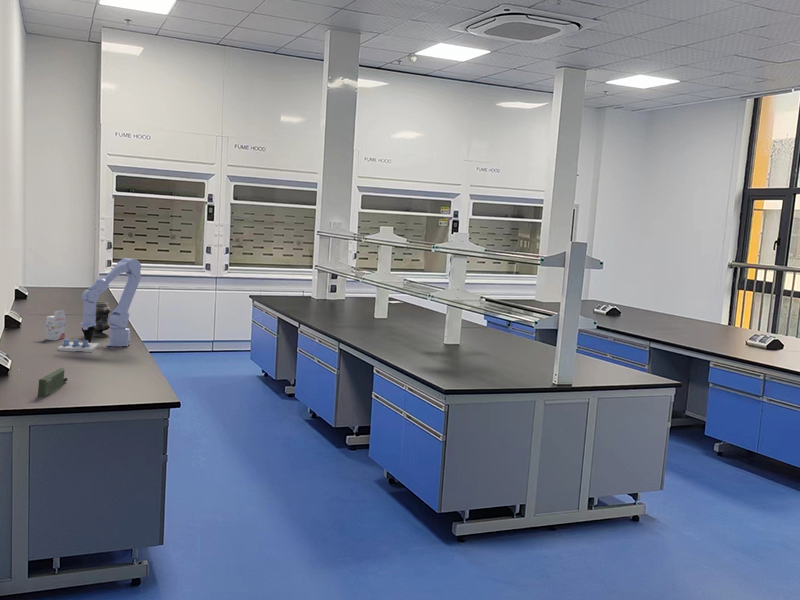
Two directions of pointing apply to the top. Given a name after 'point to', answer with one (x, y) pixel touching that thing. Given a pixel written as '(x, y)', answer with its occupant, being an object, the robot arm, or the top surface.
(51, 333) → the ink cartridge box
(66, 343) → the switch tab
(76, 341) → the switch tab
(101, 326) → the dark grey stone urn
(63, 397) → the top surface
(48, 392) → the handheld radio
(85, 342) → the switch tab
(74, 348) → the switch board
